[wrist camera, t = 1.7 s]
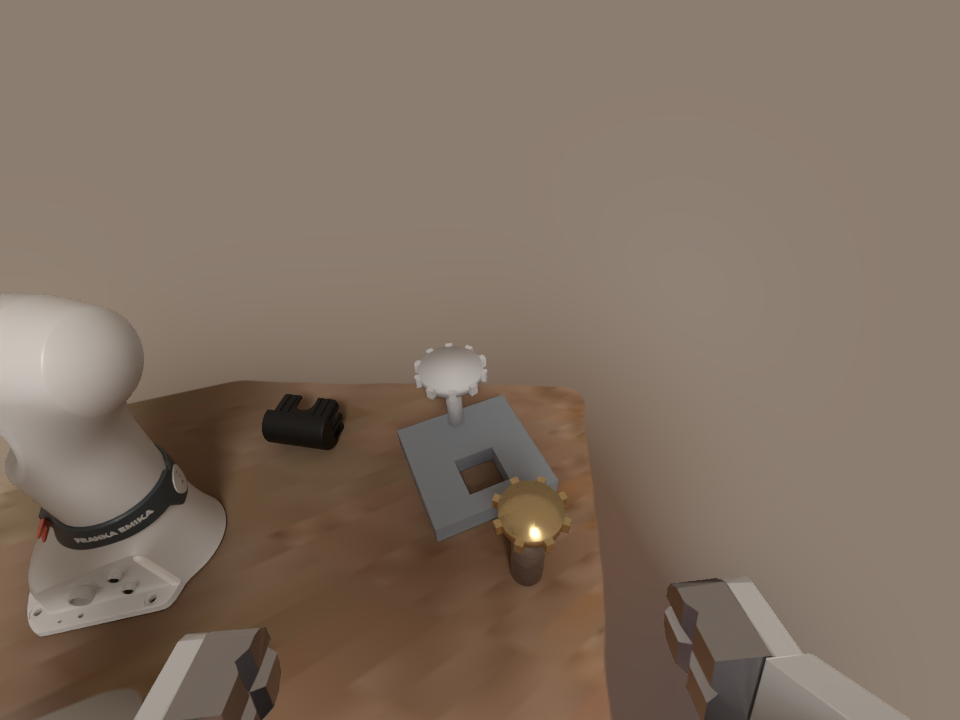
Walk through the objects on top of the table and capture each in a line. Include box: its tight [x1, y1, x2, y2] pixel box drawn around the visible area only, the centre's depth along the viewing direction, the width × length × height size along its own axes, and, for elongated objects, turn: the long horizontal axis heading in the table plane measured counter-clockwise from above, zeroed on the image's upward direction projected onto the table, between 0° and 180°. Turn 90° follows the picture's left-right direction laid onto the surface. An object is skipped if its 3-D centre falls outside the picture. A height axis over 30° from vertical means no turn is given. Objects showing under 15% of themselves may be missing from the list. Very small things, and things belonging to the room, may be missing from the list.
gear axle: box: [492, 476, 572, 586], centre depth 54 cm, size 8×8×14 cm
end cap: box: [262, 394, 344, 450], centre depth 73 cm, size 10×7×7 cm
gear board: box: [397, 343, 558, 542], centre depth 66 cm, size 18×21×14 cm
